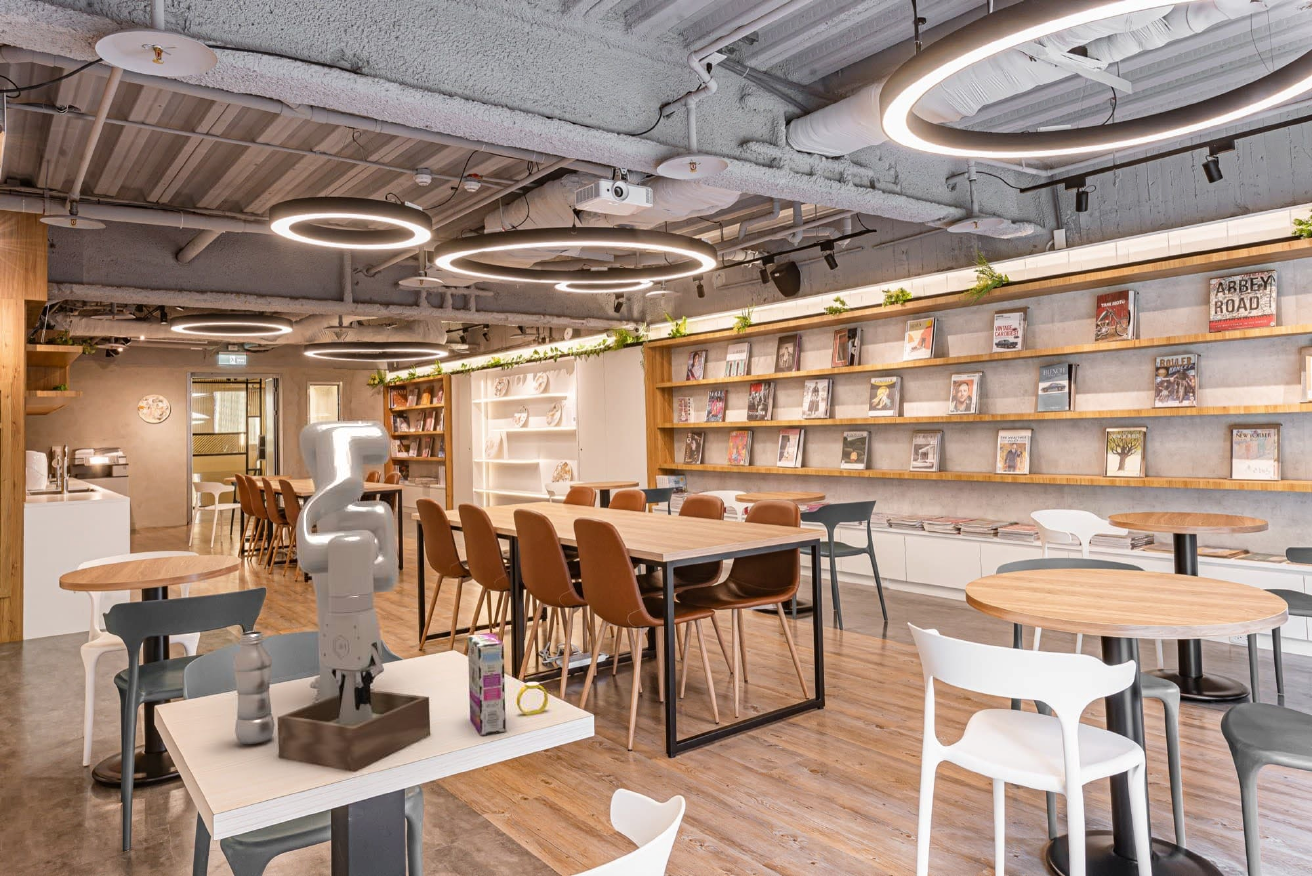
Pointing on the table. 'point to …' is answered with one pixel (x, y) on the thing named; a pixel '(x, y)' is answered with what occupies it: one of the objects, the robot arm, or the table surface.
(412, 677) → the table surface
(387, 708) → the box
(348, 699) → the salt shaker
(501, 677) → the candy bar box
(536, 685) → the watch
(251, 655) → the plastic bottle
